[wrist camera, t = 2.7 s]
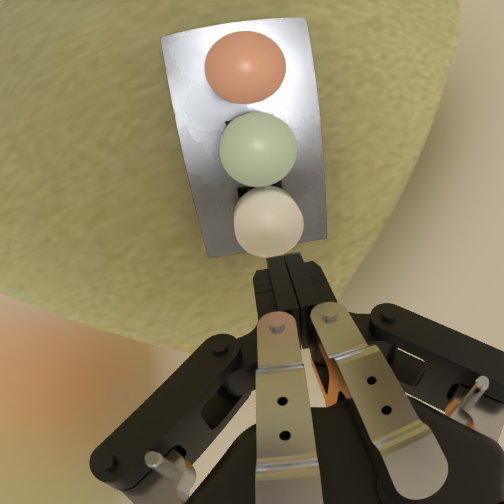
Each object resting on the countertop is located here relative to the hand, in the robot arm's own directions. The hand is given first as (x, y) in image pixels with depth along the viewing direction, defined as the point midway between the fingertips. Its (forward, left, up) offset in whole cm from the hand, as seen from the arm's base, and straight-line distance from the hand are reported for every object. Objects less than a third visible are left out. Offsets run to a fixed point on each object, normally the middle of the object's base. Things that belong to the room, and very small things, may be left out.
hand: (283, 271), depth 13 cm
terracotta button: (-9, 0, -8) cm, 12 cm away
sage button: (-5, 0, -8) cm, 9 cm away
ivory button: (0, 0, -8) cm, 8 cm away
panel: (-5, 0, -10) cm, 11 cm away
